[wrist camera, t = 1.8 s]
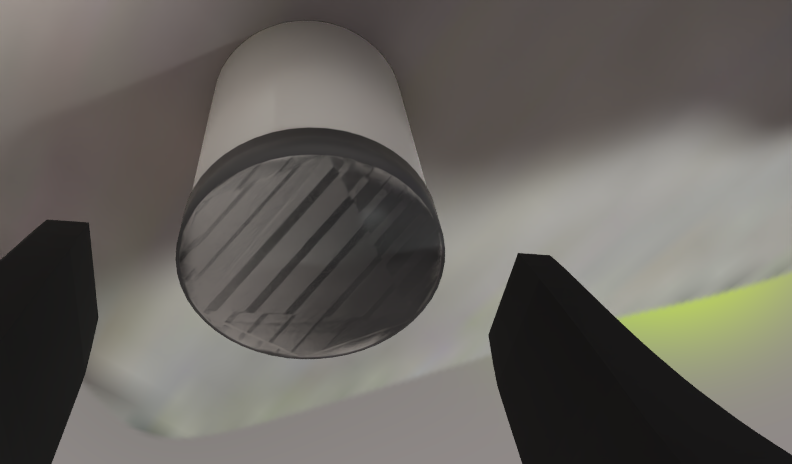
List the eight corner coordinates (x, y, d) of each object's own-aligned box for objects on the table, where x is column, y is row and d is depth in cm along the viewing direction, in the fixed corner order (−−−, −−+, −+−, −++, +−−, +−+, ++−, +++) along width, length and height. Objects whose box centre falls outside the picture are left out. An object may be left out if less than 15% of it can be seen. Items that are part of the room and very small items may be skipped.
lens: (439, 125, 17) (492, 278, 13) (297, 220, 19) (297, 391, 14) (323, -25, 15) (336, 95, 10) (168, 97, 16) (114, 255, 11)
